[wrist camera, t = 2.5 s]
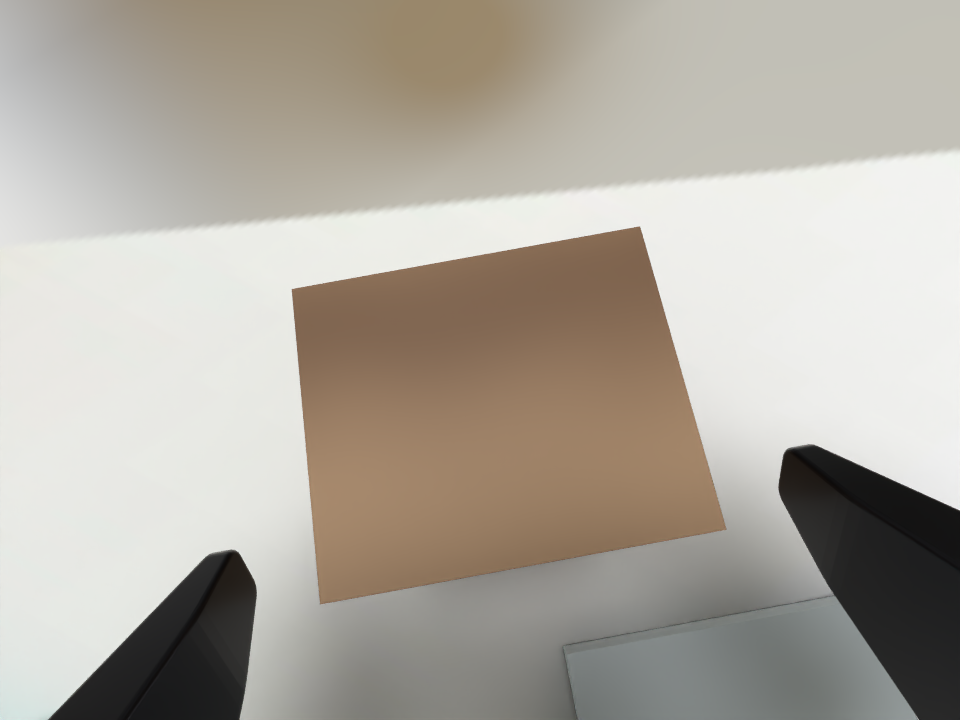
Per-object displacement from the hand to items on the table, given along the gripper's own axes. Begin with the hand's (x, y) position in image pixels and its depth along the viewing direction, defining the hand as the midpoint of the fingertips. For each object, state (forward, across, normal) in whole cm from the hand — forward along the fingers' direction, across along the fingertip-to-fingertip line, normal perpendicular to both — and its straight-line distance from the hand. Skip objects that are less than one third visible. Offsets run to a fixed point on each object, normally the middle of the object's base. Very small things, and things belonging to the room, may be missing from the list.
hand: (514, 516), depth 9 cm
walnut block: (+8, 0, +5) cm, 9 cm away
